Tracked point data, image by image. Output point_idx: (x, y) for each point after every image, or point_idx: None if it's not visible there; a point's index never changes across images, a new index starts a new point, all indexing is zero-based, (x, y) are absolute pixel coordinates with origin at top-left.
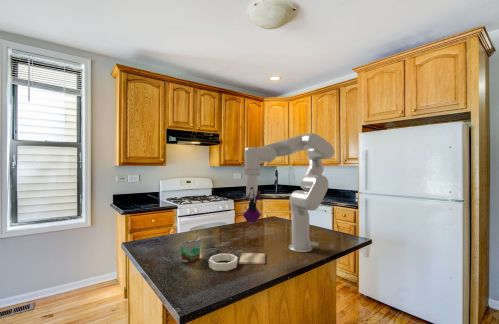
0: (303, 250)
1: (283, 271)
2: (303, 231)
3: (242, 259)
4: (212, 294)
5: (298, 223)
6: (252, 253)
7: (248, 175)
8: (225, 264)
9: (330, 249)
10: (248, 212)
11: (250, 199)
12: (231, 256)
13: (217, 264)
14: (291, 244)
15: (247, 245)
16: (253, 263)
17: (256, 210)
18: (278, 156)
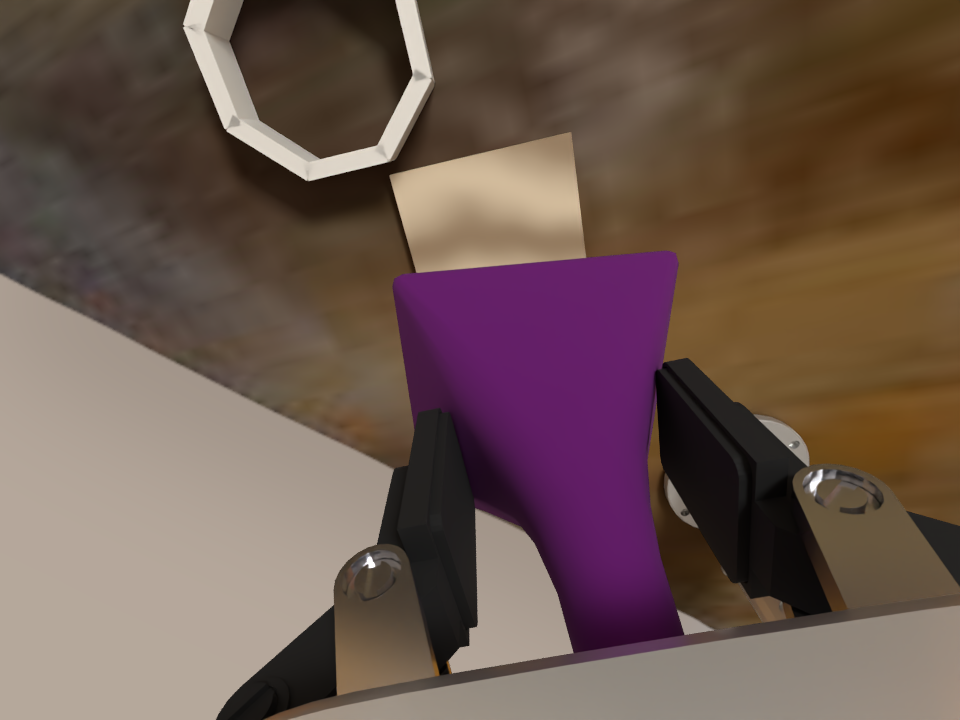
0: (668, 498)
1: (379, 437)
2: (742, 588)
3: (441, 184)
4: None
5: (781, 617)
6: (576, 220)
7: None
8: (222, 120)
9: (728, 588)
10: (429, 382)
11: (227, 717)
12: (401, 99)
13: (196, 50)
14: (777, 431)
15: (797, 107)
16: (417, 272)
17: (491, 512)
18: None
